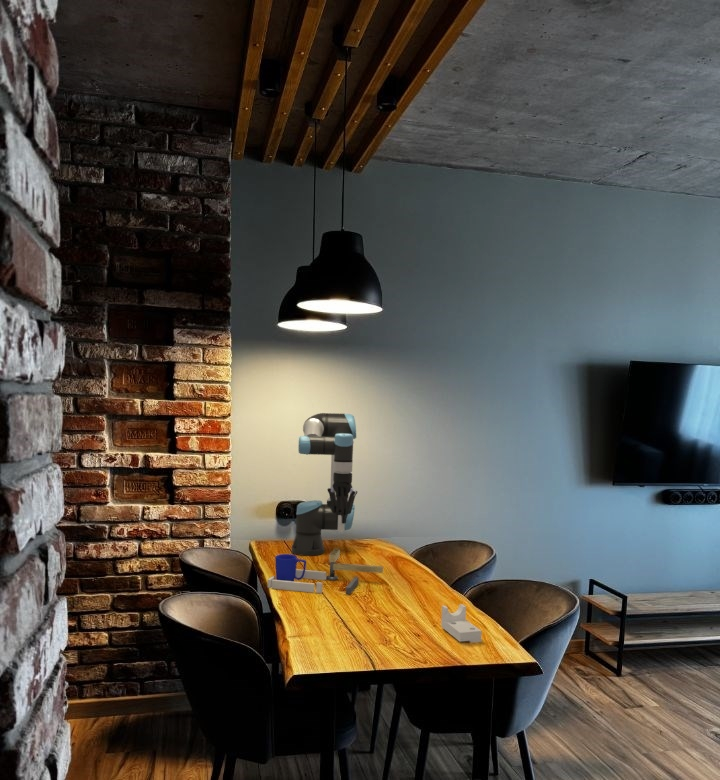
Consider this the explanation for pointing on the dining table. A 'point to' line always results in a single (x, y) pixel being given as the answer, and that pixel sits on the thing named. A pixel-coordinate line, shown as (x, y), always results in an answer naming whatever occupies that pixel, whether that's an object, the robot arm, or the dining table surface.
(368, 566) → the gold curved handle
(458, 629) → the bracket
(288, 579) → the mug
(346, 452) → the robot arm
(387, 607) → the dining table surface
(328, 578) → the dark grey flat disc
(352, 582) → the kerb
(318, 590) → the beige rectangular bars
